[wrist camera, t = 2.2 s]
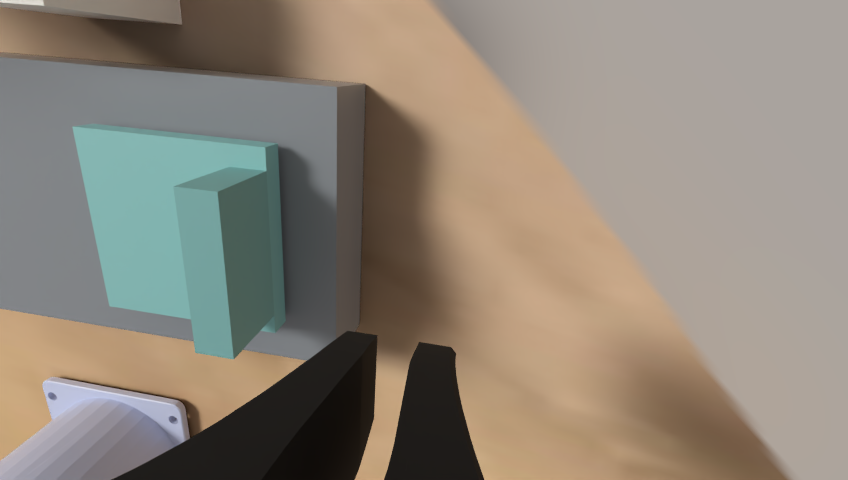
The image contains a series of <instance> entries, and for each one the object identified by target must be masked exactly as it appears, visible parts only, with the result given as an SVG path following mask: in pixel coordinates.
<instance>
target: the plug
mask: <svg viewBox="0 0 848 480" xmlns="http://www.w3.org/2000/svg"><path fill="white" fill-rule="evenodd" d="M0 7H4V8H12V9H20V10H28V11H36V12H44V13H52V14H61V15H69V16H77V17H85V18H98V19H112V20H125V21H139V22H153V23H166V24H180V25H182V17H181V8H180V0H0Z"/></svg>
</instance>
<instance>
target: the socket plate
mask: <svg viewBox="0 0 848 480" xmlns="http://www.w3.org/2000/svg"><path fill="white" fill-rule="evenodd" d="M365 85H366V84H361V83H349V82H338V81H326V80H315V79H303V78H292V77H280V76H269V75H257V74H246V73H234V72H223V71H211V70H200V69H188V68H177V67H165V66H154V65H142V64H131V63H119V62H107V61H96V60H84V59H73V58H61V57H50V56H38V55H27V54H15V53H4V52H0V309H6V310H12V311H18V312H24V313H30V314H36V315H42V316H47V317H53V318H59V319H65V320H71V321H77V322H83V323H89V324H95V325H101V326H106V327H112V328H118V329H124V330H130V331H136V332H142V333H148V334H154V335H160V336H166V337H171V338H177V339H183V340H189V341H194V338H193V331H192V323H191V319H185V318H179V317H173V316H167V315H161V314H154V313H148V312H142V311H136V310H130V309H124V308H118V307H111V306H109V302H108V297H107V292H106V287H105V282H104V278H103V273H102V268H101V263H100V258H99V253H98V249H97V244H96V239H95V234H94V229H93V224H92V220H91V215H90V210H89V205H88V200H87V195H86V191H85V186H84V181H83V176H82V171H81V166H80V162H79V157H78V152H77V147H76V142H75V137H74V133H73V128H72V127H73V126H80V125H88V124H101V125H110V126H120V127H129V128H139V129H148V130H157V131H167V132H176V133H185V134H195V135H204V136H214V137H223V138H232V139H242V140H251V141H260V142H270V143H278V160H279V182H280V205H281V227H282V250H283V273H284V295H285V318H286V321H285V323H284V324H283V325H282V326H281V327H280V328H279V330H278V331H277V332H276V333H271V332H265V331H260V332H259V333H258V334H257V335H256V336H255V337H254V338H253V339H252V340H251V341H250V342H249V343H248V344H247V346H246V347H245V348H244V349H243V350H248V351H254V352H260V353H266V354H272V355H278V356H284V357H289V358H295V359H301V360H309V359H310V358H311V357H313V356H314V355H315V354H317V353H318V352H319V351H320V350H322V349H323V348H324V347H326V346H327V345H328V344H330V343H331V342H332V341H334V340H335V339H337V338H338V337H339V336H341V335H342V334H344V333H345V332H346V331H352V332H355V331H356V329H357V328H358V326H359V324H360V284H361V244H362V205H363V165H364V125H365Z"/></svg>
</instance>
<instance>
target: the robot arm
mask: <svg viewBox="0 0 848 480" xmlns="http://www.w3.org/2000/svg"><path fill="white" fill-rule="evenodd" d="M376 355H377V335H371V334H365V333H358V332H352V331H346V332H345V333H344V334H342V335H341V336H339V337H338V338H337V339H335V340H334V341H332V342H331V343H330V344H328V345H327V346H326V347H324V348H323V349H322V350H320V351H319V352H318V353H317V354H315V355H314V356H313V357H311V358H310V359H309V360H307V361H306V362H305V363H303V364H302V365H300V366H299V367H298V368H296V369H295V370H294V371H292V372H291V373H289V374H288V375H287V376H285V377H284V378H282V379H281V380H280V381H278V382H277V383H276V384H274V385H273V386H271V387H270V388H269V389H267V390H266V391H264V392H263V393H261V394H260V395H258V396H257V397H255V398H254V399H252V400H251V401H249V402H248V403H246V404H244V405H243V406H241V407H240V408H238V409H237V410H235V411H234V412H232V413H231V414H229V415H228V416H226V417H225V418H223V419H221V420H220V421H218V422H217V423H215V424H213V425H212V426H210V427H208V428H207V429H205V430H203V431H202V432H200V433H198V434H197V435H195V436H193V437H191V438H190V435H189V429H188V422H187V416H186V409H185V406H184V405H183V403H182V402H180V401H178V400H174V399H169V398H164V397H158V396H153V395H148V394H143V393H137V392H132V391H127V390H121V389H116V388H111V387H105V386H100V385H95V384H89V383H84V382H79V381H73V380H68V379H63V378H57V377H50V378H48V379H47V380H45V381H44V382H43V390H44V393H45V397H46V400H47V404H48V407H49V410H50V414H51V417H52V421H51V422H50V423H48V424H47V425H46V426H44V427H43V428H42V429H41V430H39V431H38V432H37V433H35V434H34V435H33V436H32V437H30V438H29V439H28V440H26V441H25V442H24V443H23V444H21V445H20V446H19V447H17V448H16V449H15V450H14V451H12V452H11V453H10V454H8V455H7V456H6V457H5V458H3V459H2V460H1V461H0V480H354V479H355V477H356V475H357V472H358V470H359V467H360V464H361V460H362V457H363V454H364V450H365V447H366V444H367V440H368V437H369V433H370V430H371V426H372V423H373V420H374V402H375V379H376ZM455 358H456V353H455V352H454V350H453V349H452V348H451V347H446V346H440V345H434V344H428V343H421V342H419V344H418V346H417V348H416V350H415V352H414V354H413V357H412V359H411V361H410V365H409V370H408V375H407V380H406V385H405V390H404V396H403V401H402V406H401V411H400V416H399V421H398V427H397V432H396V437H395V442H394V447H393V451H392V455H391V459H390V462H389V466H388V470H387V473H386V476H385V479H384V480H484V478H483V475H482V472H481V469H480V466H479V463H478V460H477V457H476V455H475V451H474V448H473V445H472V442H471V439H470V435H469V431H468V428H467V424H466V420H465V416H464V413H463V409H462V405H461V400H460V396H459V390H458V384H457V378H456V368H455Z"/></svg>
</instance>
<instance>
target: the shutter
mask: <svg viewBox="0 0 848 480" xmlns="http://www.w3.org/2000/svg"><path fill="white" fill-rule="evenodd" d="M72 128H73V133H74V137H75V142H76V147H77V152H78V157H79V162H80V166H81V171H82V176H83V181H84V186H85V191H86V195H87V200H88V205H89V210H90V215H91V220H92V224H93V229H94V234H95V239H96V244H97V249H98V253H99V258H100V263H101V268H102V273H103V278H104V282H105V287H106V292H107V297H108V302H109V306H111V307H118V308H124V309H130V310H136V311H142V312H148V313H154V314H161V315H167V316H173V317H179V318H185V319H191V323H192V331H193V338H194V346H195V353H200V354H206V355H212V356H217V357H223V358H229V359H234V358H235V357H236V356H237V355H238V354H239V353H240V352H241V351H242V350H243V349H244V348H245V347H246V346H247V344H248V343H249V342H250V341H251V340H252V339H253V338H254V337H255V336H256V335H257V334H258V333H259V332H260V331H265V332H271V333H276V332H277V331H278V330H279V328H280V327H281V326H282V325H283V324H284V323H285V321H286V318H285V295H284V273H283V250H282V227H281V205H280V182H279V160H278V143H270V142H260V141H251V140H242V139H232V138H223V137H214V136H204V135H195V134H185V133H176V132H167V131H157V130H148V129H139V128H129V127H120V126H110V125H101V124H88V125H80V126H73V127H72Z"/></svg>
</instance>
